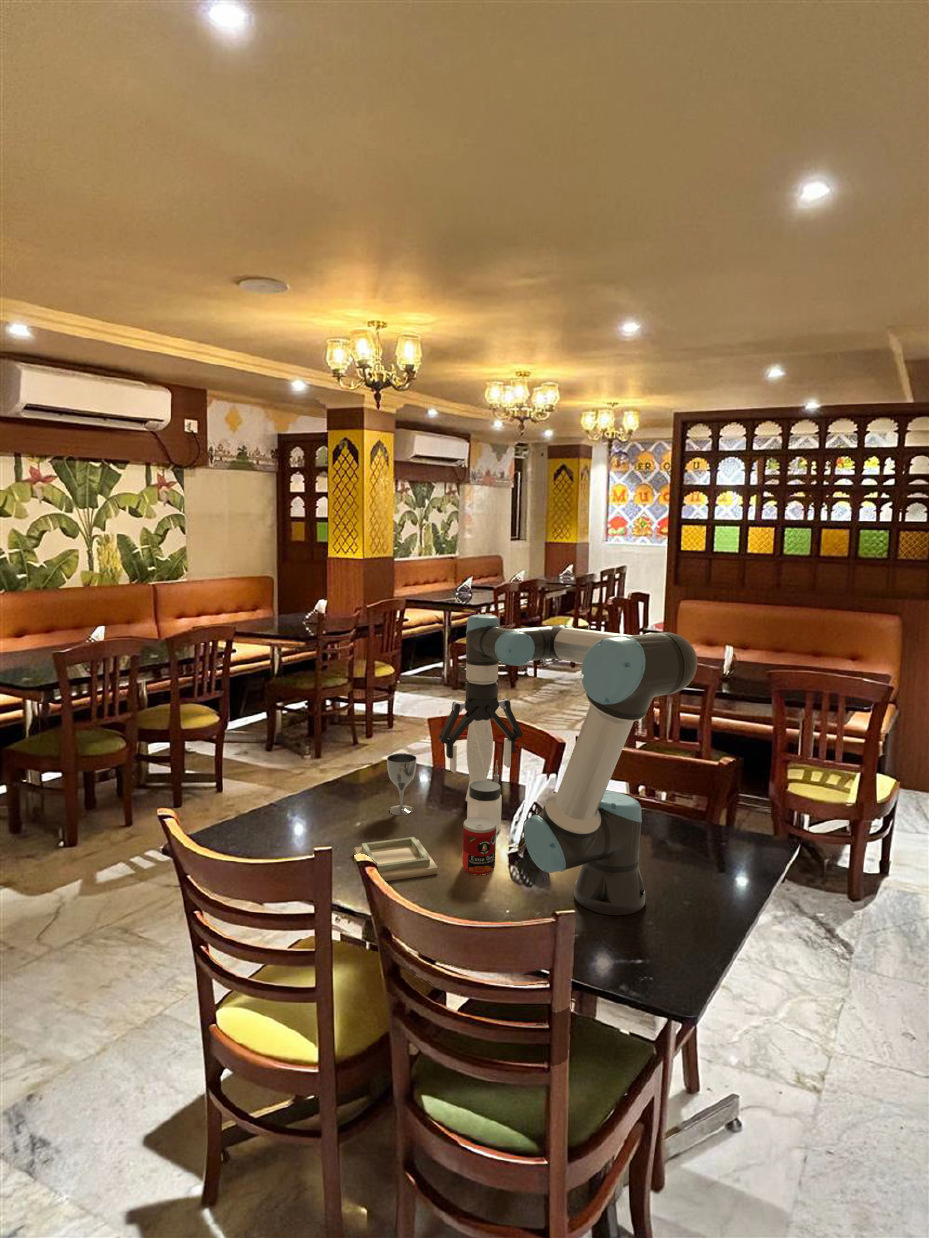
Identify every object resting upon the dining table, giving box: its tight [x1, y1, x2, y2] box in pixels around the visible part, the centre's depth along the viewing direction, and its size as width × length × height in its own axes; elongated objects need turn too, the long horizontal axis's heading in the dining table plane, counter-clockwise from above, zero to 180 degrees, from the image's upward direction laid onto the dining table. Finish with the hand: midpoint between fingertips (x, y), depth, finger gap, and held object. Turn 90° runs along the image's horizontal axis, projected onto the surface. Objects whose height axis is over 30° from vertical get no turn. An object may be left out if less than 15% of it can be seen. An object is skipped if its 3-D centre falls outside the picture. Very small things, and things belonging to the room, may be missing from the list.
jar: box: [466, 780, 503, 835], centre depth 209 cm, size 9×8×12 cm
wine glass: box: [386, 752, 417, 816], centre depth 220 cm, size 8×8×15 cm
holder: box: [353, 836, 439, 882], centre depth 189 cm, size 16×16×3 cm
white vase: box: [465, 718, 500, 803], centre depth 227 cm, size 8×8×28 cm
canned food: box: [462, 817, 497, 876], centre depth 187 cm, size 8×8×11 cm
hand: (480, 768), depth 191 cm, fingers open, 13 cm apart
